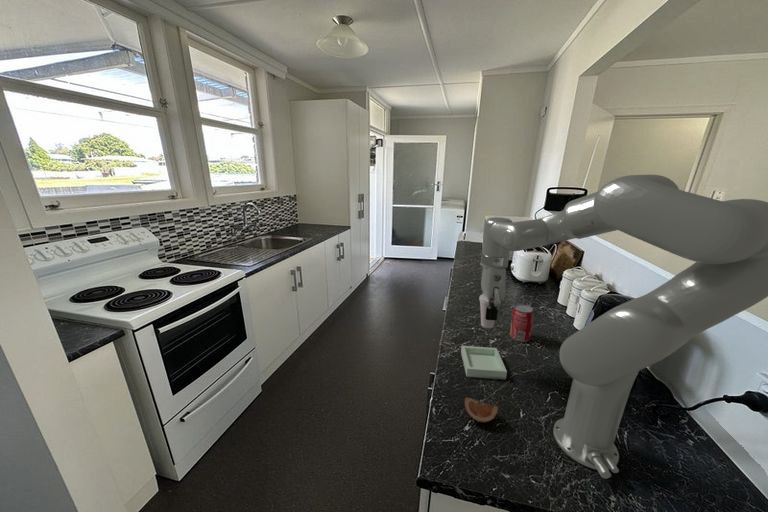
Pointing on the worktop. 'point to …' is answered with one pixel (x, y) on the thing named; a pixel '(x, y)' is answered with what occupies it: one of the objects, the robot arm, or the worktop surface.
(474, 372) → the tray
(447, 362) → the worktop surface
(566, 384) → the worktop surface
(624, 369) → the robot arm
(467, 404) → the fruit slice
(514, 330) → the soda can
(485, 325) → the smoothie
